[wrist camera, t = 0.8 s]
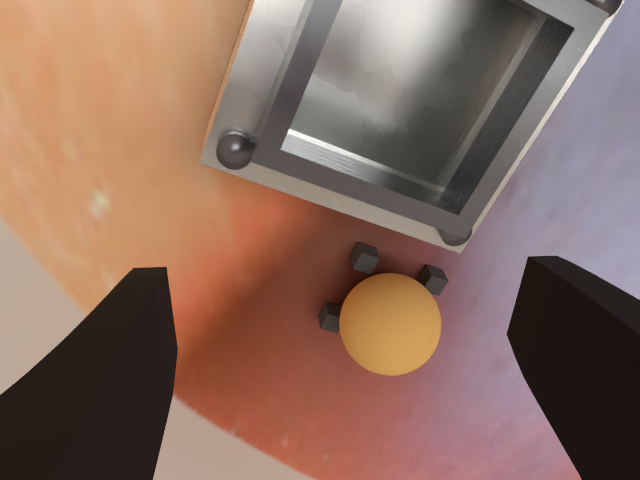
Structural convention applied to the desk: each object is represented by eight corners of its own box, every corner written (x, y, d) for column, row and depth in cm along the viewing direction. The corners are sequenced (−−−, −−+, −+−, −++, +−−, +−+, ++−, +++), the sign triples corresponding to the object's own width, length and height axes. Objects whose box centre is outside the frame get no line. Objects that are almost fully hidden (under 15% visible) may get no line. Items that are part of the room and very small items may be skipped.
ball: (442, 270, 23) (475, 332, 19) (398, 338, 24) (421, 406, 21) (358, 241, 21) (377, 303, 18) (318, 316, 23) (329, 384, 20)
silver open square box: (570, -31, 17) (676, -14, 13) (431, 205, 21) (476, 279, 17) (311, -179, 14) (335, -221, 10) (208, 123, 18) (193, 185, 14)
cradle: (442, 270, 22) (448, 281, 22) (398, 338, 24) (402, 350, 24) (358, 242, 21) (361, 252, 21) (318, 316, 23) (320, 328, 22)
